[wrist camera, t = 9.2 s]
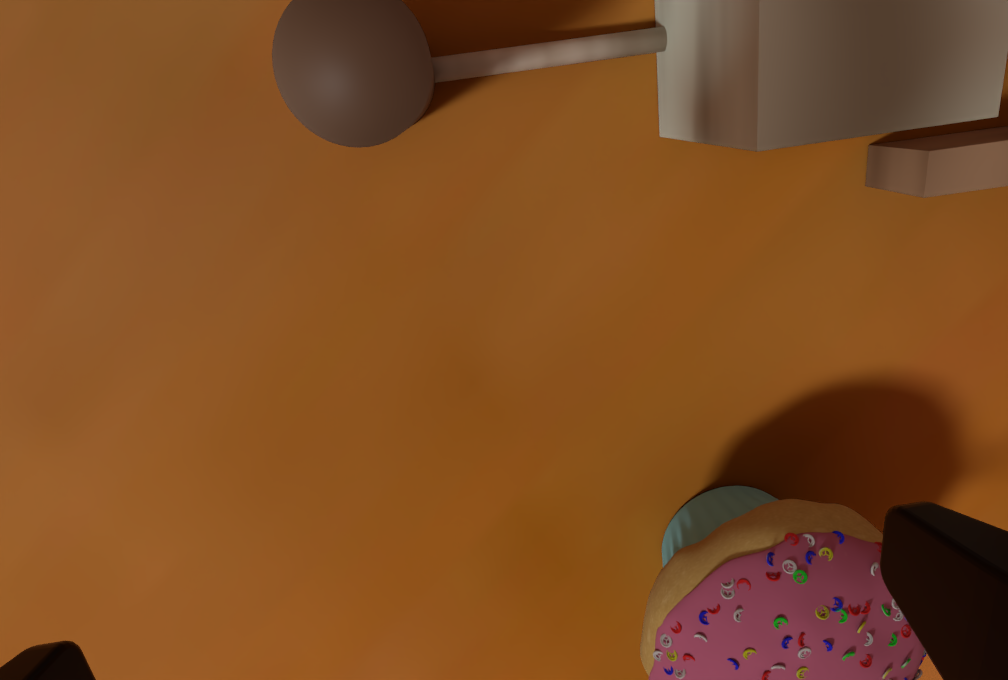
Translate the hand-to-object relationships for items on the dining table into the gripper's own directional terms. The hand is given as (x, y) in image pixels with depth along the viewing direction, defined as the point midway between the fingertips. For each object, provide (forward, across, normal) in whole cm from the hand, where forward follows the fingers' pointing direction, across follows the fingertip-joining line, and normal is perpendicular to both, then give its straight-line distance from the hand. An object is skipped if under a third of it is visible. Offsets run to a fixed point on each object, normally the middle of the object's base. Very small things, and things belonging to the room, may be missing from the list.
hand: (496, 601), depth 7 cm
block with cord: (+13, -4, -6) cm, 15 cm away
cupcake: (+13, -8, +11) cm, 19 cm away
